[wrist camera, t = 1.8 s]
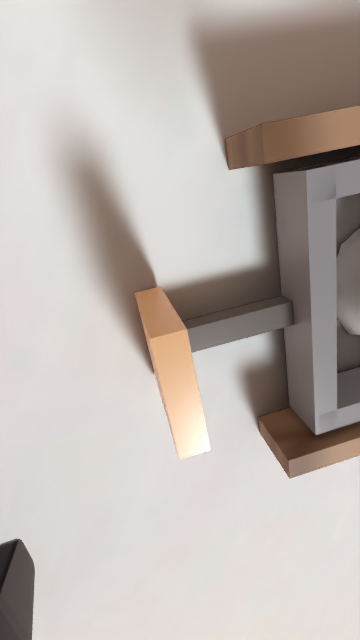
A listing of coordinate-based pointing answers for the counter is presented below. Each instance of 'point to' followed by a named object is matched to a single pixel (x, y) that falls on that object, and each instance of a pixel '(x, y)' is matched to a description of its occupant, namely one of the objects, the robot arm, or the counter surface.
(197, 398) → the sliding frame
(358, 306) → the flask
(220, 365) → the counter surface
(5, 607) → the robot arm
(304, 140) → the lane rails
